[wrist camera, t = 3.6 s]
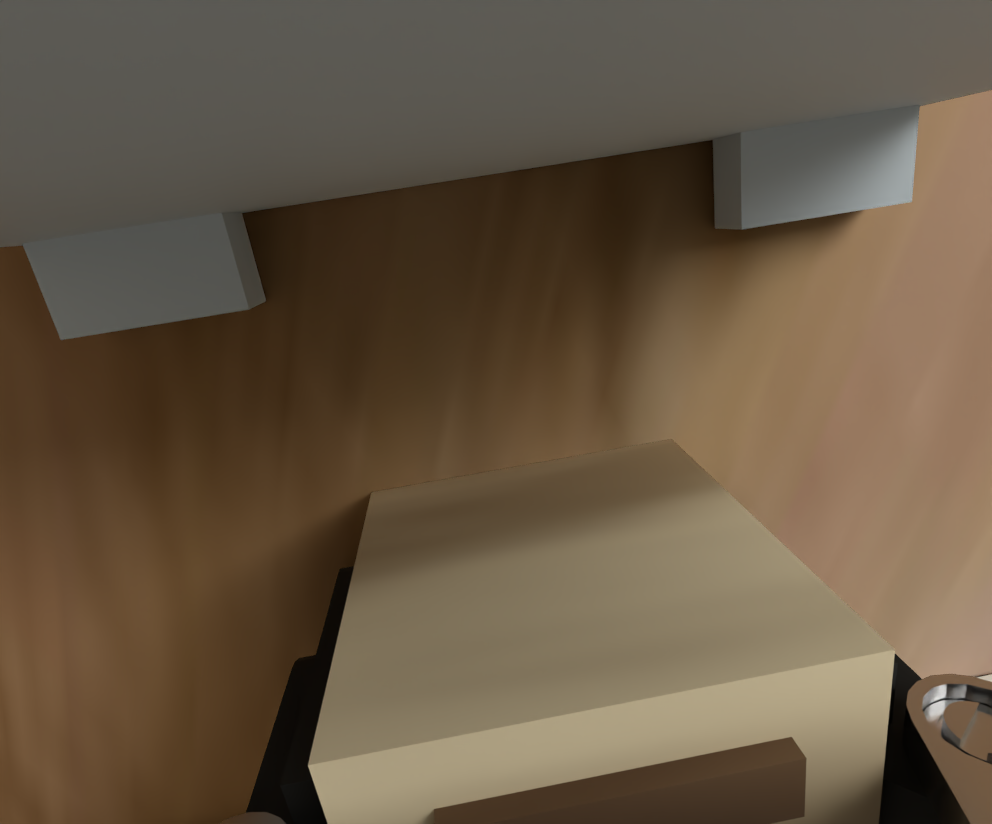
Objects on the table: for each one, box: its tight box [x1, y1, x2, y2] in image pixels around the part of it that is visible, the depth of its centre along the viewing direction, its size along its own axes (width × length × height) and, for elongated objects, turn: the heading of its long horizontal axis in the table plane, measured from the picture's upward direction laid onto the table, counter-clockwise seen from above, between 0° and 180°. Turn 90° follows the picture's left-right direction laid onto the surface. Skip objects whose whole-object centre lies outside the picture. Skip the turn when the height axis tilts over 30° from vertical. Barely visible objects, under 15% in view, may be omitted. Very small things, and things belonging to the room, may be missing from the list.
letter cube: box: [308, 439, 895, 824], centre depth 8 cm, size 5×5×5 cm
